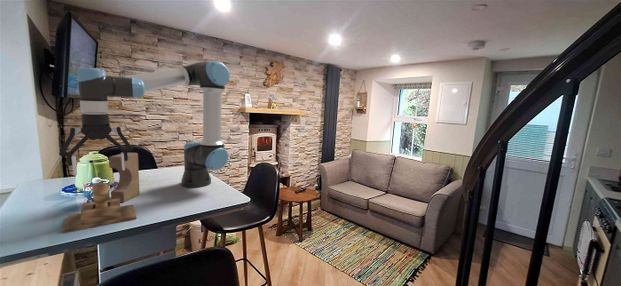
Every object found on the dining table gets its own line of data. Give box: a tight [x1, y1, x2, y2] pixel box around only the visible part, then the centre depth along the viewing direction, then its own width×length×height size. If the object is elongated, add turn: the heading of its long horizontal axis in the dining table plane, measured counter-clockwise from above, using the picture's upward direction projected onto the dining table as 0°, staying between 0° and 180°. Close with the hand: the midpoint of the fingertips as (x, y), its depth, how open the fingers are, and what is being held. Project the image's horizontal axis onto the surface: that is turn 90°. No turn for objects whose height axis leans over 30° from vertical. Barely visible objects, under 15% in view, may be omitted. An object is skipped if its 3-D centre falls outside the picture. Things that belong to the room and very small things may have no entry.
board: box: [62, 198, 137, 234], centre depth 95 cm, size 20×14×5 cm
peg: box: [91, 182, 110, 208], centre depth 94 cm, size 4×4×12 cm
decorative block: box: [108, 152, 140, 204], centre depth 115 cm, size 11×6×20 cm, turn 179°
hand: (100, 172), depth 93 cm, fingers open, 13 cm apart
